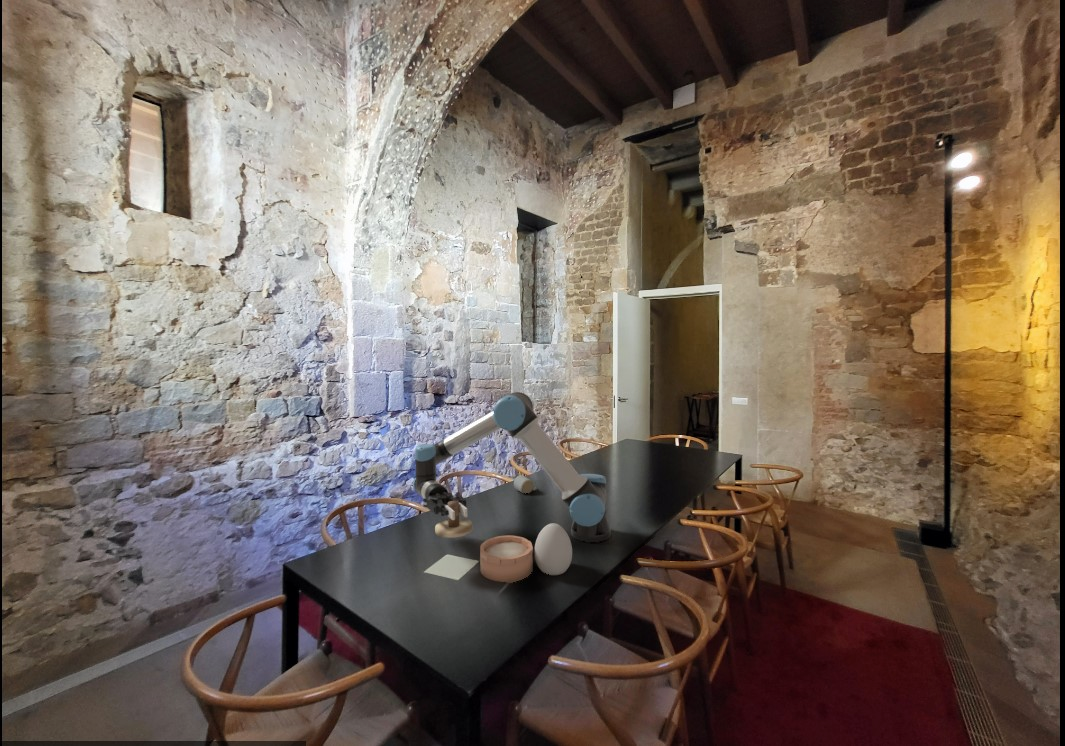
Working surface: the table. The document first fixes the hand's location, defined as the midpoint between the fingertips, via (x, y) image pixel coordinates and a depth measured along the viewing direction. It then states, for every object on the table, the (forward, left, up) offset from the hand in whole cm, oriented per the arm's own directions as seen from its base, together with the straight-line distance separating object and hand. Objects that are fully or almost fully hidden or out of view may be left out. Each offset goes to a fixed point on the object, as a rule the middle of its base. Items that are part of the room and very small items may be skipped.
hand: (459, 514), depth 139 cm
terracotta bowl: (-12, -9, -20) cm, 25 cm away
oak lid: (+4, -3, -7) cm, 9 cm away
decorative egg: (-26, -15, -20) cm, 36 cm away
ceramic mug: (+14, -81, -20) cm, 85 cm away
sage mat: (+5, -3, -20) cm, 21 cm away
